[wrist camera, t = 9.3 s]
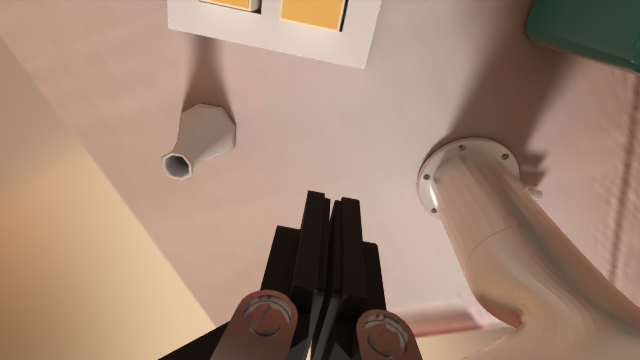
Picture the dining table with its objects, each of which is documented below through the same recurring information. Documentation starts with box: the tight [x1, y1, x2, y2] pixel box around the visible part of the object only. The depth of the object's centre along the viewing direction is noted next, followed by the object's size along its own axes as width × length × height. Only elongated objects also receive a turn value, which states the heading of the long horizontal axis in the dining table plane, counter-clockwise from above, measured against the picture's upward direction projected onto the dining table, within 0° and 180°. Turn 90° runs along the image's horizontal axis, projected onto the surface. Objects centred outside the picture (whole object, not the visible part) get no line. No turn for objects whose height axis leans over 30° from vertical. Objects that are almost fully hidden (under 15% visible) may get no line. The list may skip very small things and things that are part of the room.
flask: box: [161, 103, 236, 180], centre depth 39 cm, size 7×7×10 cm
